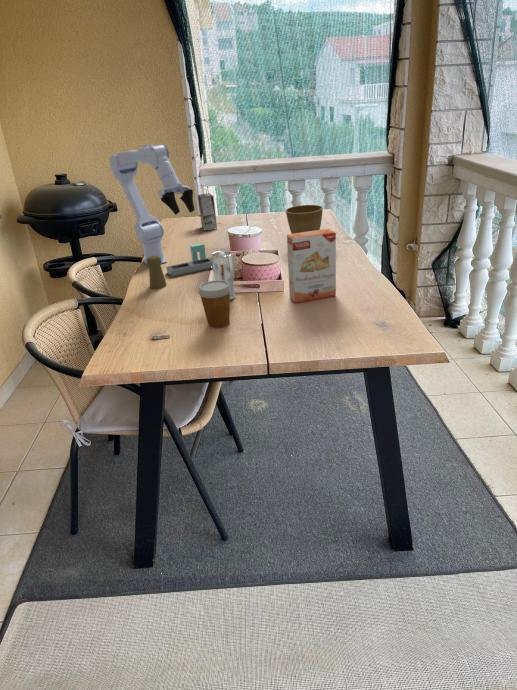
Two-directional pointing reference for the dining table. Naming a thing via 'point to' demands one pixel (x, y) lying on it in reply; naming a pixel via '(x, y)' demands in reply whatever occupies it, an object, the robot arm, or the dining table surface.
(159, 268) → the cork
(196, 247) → the clip
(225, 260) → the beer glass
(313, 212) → the plant pot
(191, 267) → the grey compartment tray
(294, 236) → the cracker box
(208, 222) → the coffee box
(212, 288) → the disposable coffee cup
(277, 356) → the dining table surface
